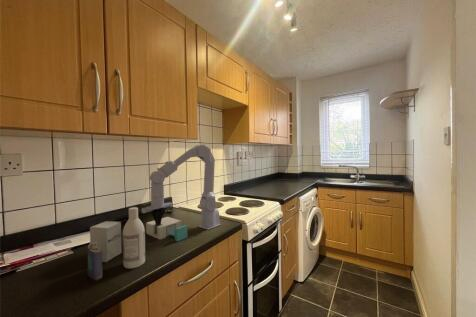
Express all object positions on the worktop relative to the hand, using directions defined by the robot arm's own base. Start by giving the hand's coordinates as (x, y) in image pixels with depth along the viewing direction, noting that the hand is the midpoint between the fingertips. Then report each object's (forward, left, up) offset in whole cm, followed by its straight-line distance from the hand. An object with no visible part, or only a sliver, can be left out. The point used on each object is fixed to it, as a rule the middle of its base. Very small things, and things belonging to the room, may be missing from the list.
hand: (158, 224), depth 97 cm
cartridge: (-4, +3, -5) cm, 8 cm away
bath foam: (+19, +16, -6) cm, 25 cm away
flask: (+30, +12, -6) cm, 33 cm away
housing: (-4, -2, -6) cm, 7 cm away
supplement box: (+23, +2, -6) cm, 24 cm away
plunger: (0, 0, -4) cm, 4 cm away
